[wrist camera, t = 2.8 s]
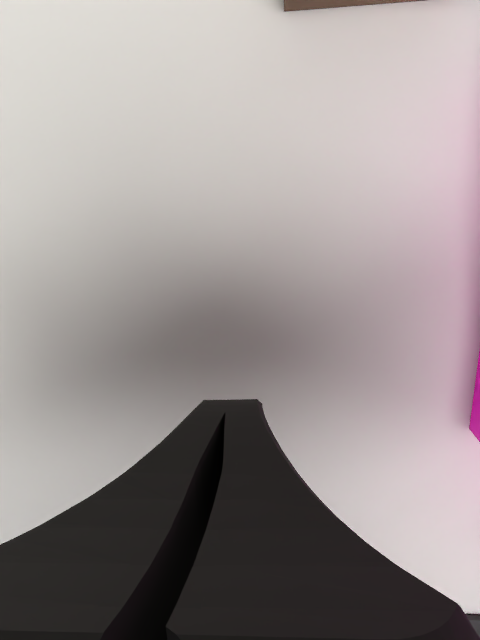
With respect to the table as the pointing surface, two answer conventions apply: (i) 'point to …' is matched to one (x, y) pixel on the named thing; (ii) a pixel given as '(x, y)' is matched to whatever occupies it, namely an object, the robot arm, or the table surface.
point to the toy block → (476, 405)
